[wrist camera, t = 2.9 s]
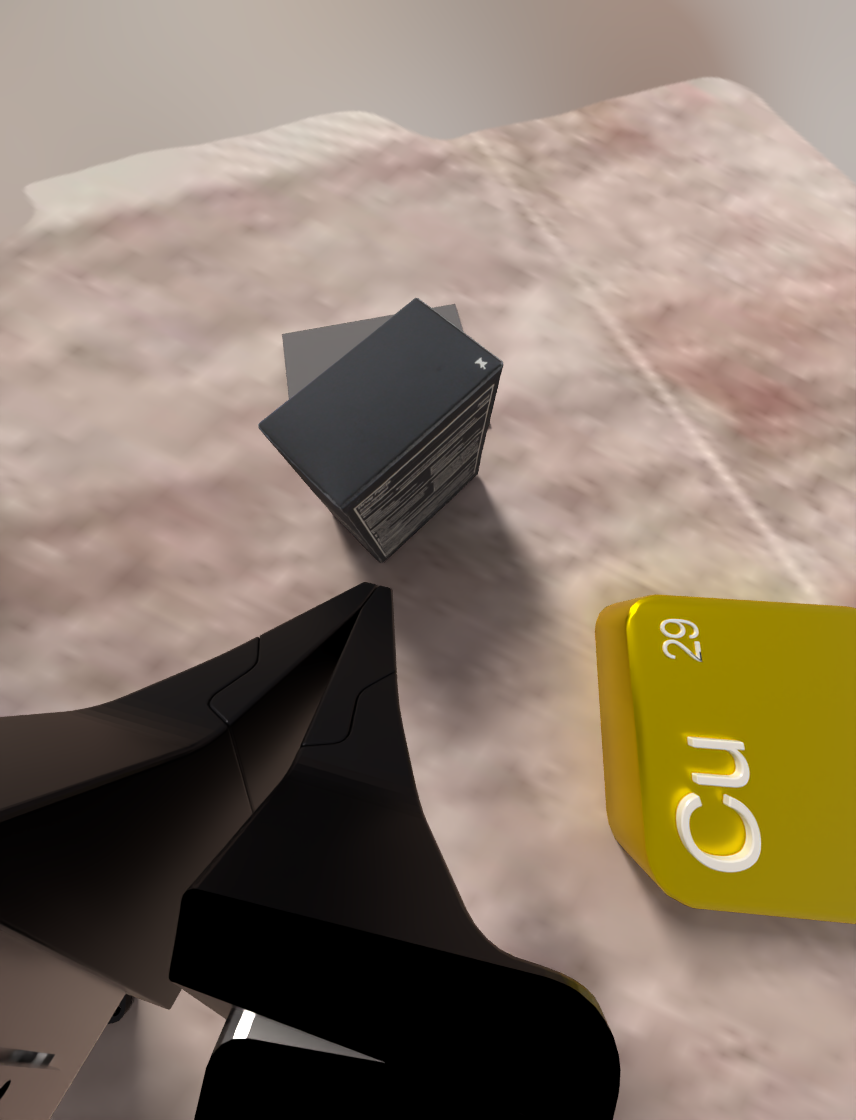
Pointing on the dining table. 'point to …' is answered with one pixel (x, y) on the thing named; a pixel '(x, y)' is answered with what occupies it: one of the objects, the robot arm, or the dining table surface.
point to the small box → (392, 426)
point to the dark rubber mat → (332, 346)
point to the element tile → (733, 750)
